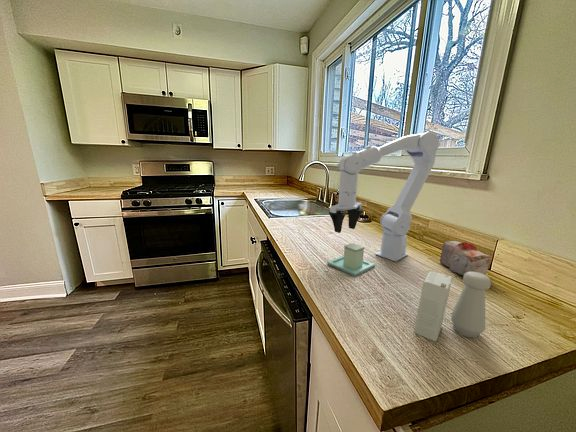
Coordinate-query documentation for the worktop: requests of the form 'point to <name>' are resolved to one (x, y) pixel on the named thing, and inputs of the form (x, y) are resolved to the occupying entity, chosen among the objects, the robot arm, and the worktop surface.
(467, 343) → the worktop surface
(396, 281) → the worktop surface
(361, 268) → the tray
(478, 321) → the salt shaker
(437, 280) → the skincare box
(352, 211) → the robot arm
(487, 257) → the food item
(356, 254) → the tea tin
